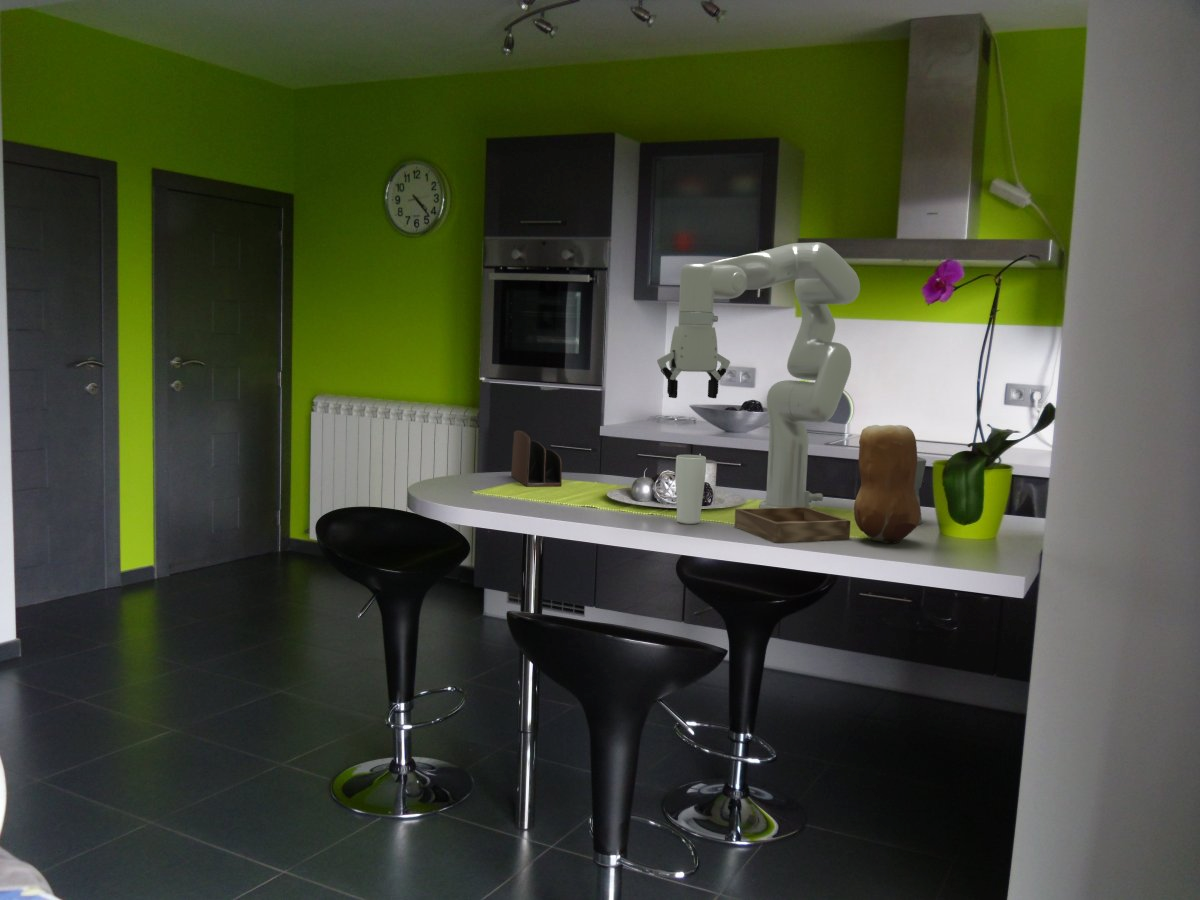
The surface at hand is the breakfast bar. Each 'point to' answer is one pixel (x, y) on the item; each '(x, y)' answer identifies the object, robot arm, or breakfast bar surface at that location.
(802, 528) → the walnut tray
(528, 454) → the letter holder
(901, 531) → the butternut squash
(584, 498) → the breakfast bar surface
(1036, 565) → the breakfast bar surface
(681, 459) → the drinking glass
